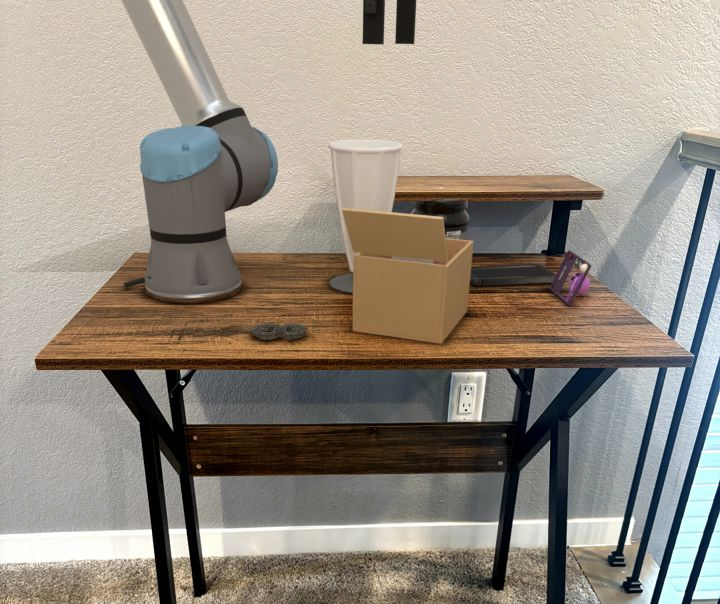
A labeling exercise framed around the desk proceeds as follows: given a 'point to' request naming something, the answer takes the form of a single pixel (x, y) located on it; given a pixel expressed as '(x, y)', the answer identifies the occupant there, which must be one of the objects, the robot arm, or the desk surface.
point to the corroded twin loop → (278, 331)
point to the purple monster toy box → (577, 282)
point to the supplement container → (447, 215)
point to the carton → (411, 294)
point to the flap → (396, 234)
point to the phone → (510, 275)
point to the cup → (362, 185)
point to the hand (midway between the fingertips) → (389, 44)
